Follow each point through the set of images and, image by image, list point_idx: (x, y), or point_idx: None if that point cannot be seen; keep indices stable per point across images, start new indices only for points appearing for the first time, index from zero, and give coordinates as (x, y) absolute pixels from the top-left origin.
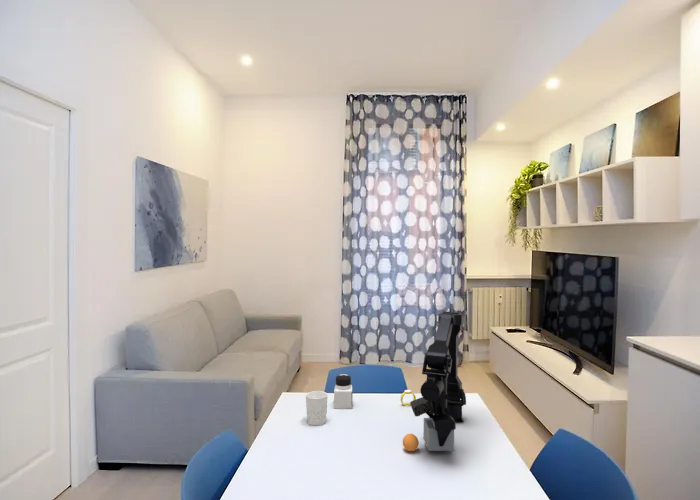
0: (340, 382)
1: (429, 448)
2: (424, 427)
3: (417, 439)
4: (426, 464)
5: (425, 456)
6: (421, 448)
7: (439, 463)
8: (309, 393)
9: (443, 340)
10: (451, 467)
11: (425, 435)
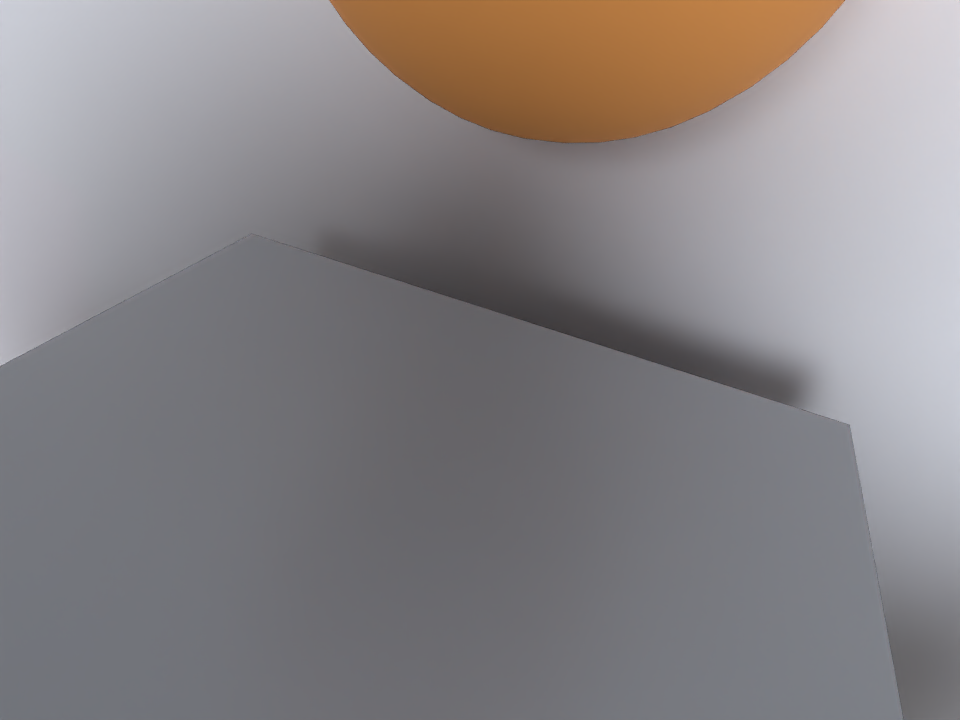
0: None
1: (217, 264)
2: (711, 694)
3: (390, 67)
4: (40, 4)
5: (303, 126)
6: (640, 207)
7: (86, 251)
8: None
9: None
10: (5, 350)
11: (550, 460)
